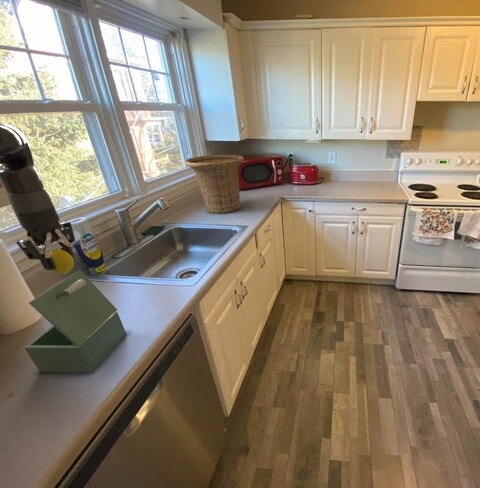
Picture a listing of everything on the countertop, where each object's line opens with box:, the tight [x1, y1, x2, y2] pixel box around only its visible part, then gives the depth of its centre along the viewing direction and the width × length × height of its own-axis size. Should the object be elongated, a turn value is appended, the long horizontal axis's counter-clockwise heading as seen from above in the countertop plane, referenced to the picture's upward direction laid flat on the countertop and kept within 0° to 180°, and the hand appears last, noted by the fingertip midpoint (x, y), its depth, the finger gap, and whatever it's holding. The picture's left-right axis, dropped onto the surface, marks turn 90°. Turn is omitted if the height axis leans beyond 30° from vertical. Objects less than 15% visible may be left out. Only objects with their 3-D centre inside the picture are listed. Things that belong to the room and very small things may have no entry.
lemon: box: [49, 248, 75, 275], centre depth 80 cm, size 6×6×8 cm
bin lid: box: [28, 269, 118, 347], centre depth 70 cm, size 14×14×5 cm
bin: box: [23, 311, 127, 373], centre depth 76 cm, size 14×14×9 cm
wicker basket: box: [184, 154, 245, 215], centre depth 182 cm, size 35×35×33 cm
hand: (60, 263), depth 80 cm, fingers closed on lemon, 5 cm apart
